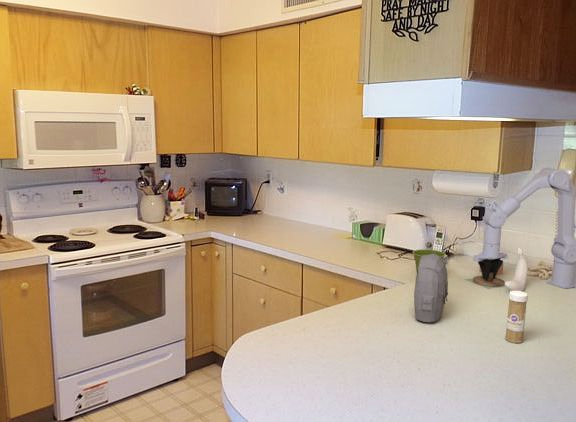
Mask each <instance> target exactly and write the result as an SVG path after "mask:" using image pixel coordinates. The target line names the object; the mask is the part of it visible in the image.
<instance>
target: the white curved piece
mask: <svg viewBox="0 0 576 422" xmlns="http://www.w3.org/2000/svg"><path fill="white" fill-rule="evenodd" d="M523 253H524V252H523V250H522V249H521V247H518V248H517V252H516V254H518V257H519V260H518V262H517V263H516V266H515V271H514V276H513V279H512V280H508V281H504V282H505V288H506V289H507V290H508V291H509V292H510V291H522V292H524V291H523V290H524V289H525V287H526V284H527V278H528V277H527V276H528V271H529V269H528V268H529V267H528V262H527V260H526V258H525V257H524V254H523Z"/></svg>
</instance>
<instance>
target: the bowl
mask: <svg viewBox="0 0 576 422" xmlns="http://www.w3.org/2000/svg"><path fill="white" fill-rule="evenodd" d="M503 271H504V263H503V264H502V265H501V266H500V268H499V270H498V272H497V275H496V276H498V275H502V274H503ZM479 272H481V268H480V267H479ZM481 273H482V272H481Z"/></svg>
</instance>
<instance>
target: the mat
mask: <svg viewBox="0 0 576 422" xmlns="http://www.w3.org/2000/svg"><path fill="white" fill-rule="evenodd" d="M464 281H465V282H466V281H467V282H469V283H471V284H475V285H477V286H480V287H483V288H485V289H488V290H490V289H491V290H492V289H496V288H497V289H498V288H504V287H505V284H504V286H501V287H489V286H483V285H479V284H476V283H474V282H473V278H467V279H464ZM505 288H506V287H505Z"/></svg>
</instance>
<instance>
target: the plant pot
mask: <svg viewBox="0 0 576 422" xmlns="http://www.w3.org/2000/svg"><path fill="white" fill-rule="evenodd" d="M412 254H413V257H414V261H415V262H414V263H415V271H416V273H417V272H418V267H419V263H420V259H421V258H422V256H423V255H430V254H436V255H438V256H440V257H441V258H442V259H443V260H444V258H445V257H446V255H447V254H446V253H445V252H443V251H441V250H435V249H428V248H427V249H416V250H413V251H412Z"/></svg>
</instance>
